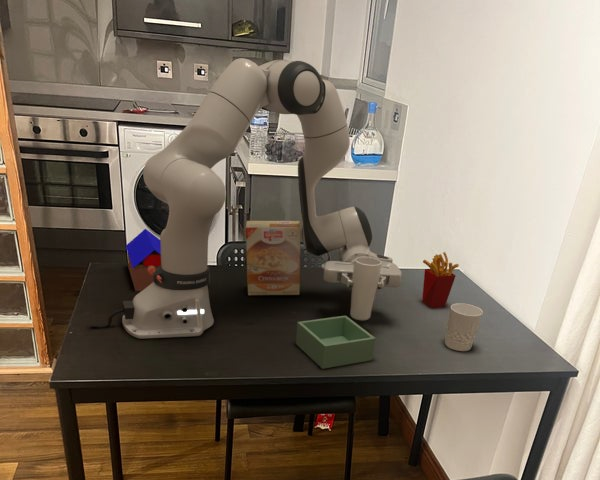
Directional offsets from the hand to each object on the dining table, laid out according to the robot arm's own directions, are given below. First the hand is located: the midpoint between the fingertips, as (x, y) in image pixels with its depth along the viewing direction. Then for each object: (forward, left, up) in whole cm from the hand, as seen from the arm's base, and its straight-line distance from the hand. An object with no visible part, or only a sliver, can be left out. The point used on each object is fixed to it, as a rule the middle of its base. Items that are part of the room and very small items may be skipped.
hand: (365, 285), depth 149 cm
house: (-40, +51, -13) cm, 66 cm away
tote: (-12, -8, -13) cm, 20 cm away
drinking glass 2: (0, +1, -9) cm, 9 cm away
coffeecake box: (-10, +31, -12) cm, 34 cm away
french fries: (+32, +11, -13) cm, 36 cm away
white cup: (+21, -15, -13) cm, 29 cm away
